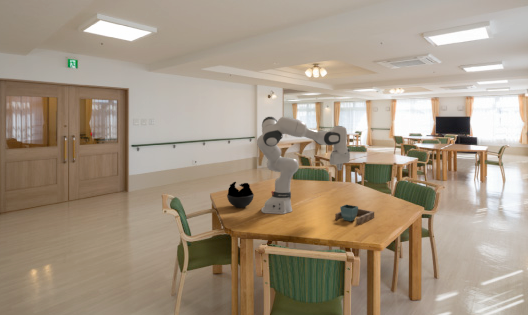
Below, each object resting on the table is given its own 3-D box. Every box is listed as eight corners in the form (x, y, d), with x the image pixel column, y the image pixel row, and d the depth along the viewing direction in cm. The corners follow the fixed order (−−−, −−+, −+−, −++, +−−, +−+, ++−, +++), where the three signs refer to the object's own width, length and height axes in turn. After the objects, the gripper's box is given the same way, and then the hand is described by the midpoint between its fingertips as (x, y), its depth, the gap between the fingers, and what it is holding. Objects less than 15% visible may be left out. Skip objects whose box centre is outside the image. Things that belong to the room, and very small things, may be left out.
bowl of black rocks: (257, 209, 240) (256, 184, 238) (230, 211, 234) (229, 186, 232) (249, 203, 259) (249, 179, 257) (224, 205, 253) (224, 181, 251)
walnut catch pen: (358, 224, 203) (358, 218, 202) (335, 219, 214) (335, 213, 214) (374, 217, 218) (374, 211, 218) (351, 213, 229) (352, 207, 229)
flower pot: (345, 217, 219) (346, 204, 218) (358, 219, 214) (358, 206, 213) (339, 220, 213) (339, 206, 212) (352, 222, 207) (352, 209, 206)
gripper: (335, 151, 211) (335, 172, 212) (351, 149, 226) (351, 169, 227) (327, 150, 215) (327, 171, 217) (343, 148, 230) (343, 168, 231)
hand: (339, 170), depth 222 cm, fingers closed
